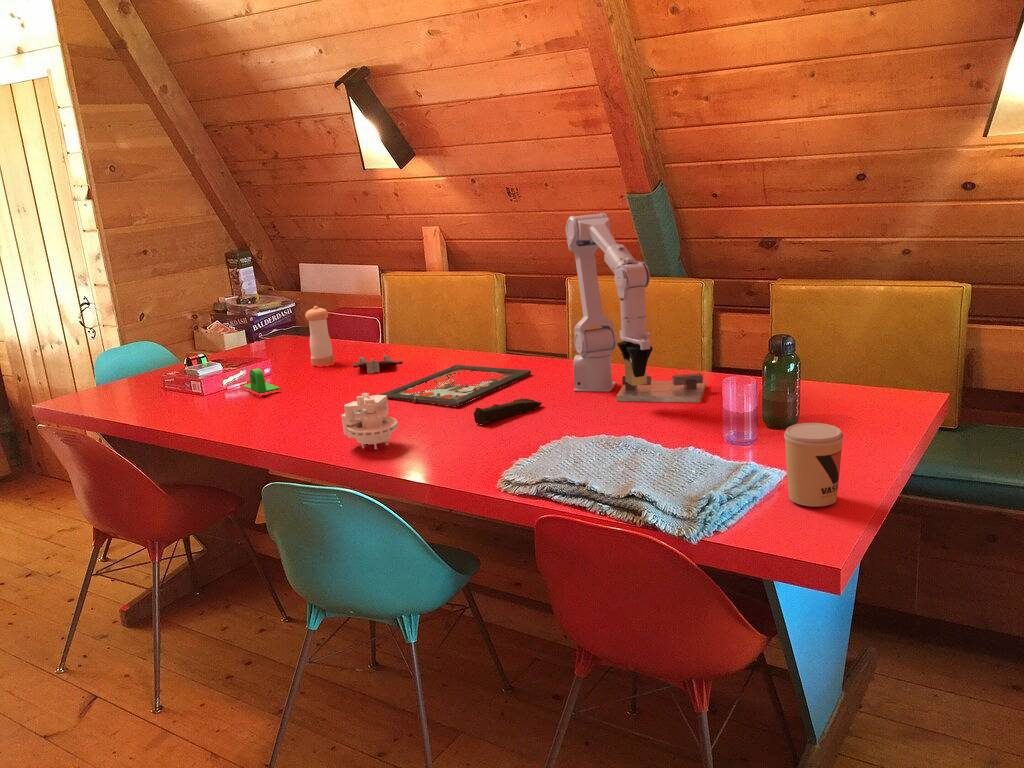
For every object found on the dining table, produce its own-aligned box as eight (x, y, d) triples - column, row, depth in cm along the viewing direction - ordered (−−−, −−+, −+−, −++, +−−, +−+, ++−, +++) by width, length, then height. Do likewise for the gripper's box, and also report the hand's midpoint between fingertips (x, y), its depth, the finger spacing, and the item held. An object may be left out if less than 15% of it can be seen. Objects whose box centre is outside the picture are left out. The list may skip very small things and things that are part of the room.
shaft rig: (616, 401, 215) (615, 383, 214) (626, 386, 228) (625, 369, 227) (700, 402, 209) (699, 383, 208) (705, 386, 222) (705, 369, 221)
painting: (534, 377, 247) (534, 368, 246) (460, 412, 219) (459, 402, 218) (454, 370, 262) (453, 362, 261) (375, 402, 234) (374, 393, 233)
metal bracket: (397, 353, 260) (346, 357, 260) (398, 373, 260) (347, 377, 260) (402, 356, 274) (354, 360, 274) (404, 375, 274) (355, 378, 274)
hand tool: (483, 410, 202) (470, 406, 205) (484, 427, 203) (471, 423, 207) (543, 392, 214) (530, 389, 217) (543, 408, 215) (530, 404, 218)
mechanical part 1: (280, 394, 248) (276, 366, 246) (260, 399, 244) (256, 371, 242) (263, 387, 257) (259, 361, 255) (243, 392, 254) (239, 365, 252)
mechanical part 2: (372, 458, 188) (365, 404, 185) (336, 449, 196) (329, 397, 193) (411, 443, 196) (405, 391, 193) (375, 435, 204) (369, 385, 201)
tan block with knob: (632, 385, 204) (631, 357, 202) (625, 381, 208) (624, 353, 206) (646, 383, 205) (645, 355, 203) (639, 379, 209) (638, 352, 207)
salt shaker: (313, 365, 280) (305, 305, 275) (336, 363, 281) (328, 303, 276) (310, 370, 273) (302, 309, 268) (334, 368, 274) (326, 307, 269)
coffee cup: (828, 513, 144) (829, 443, 141) (774, 501, 150) (774, 434, 147) (850, 494, 151) (852, 427, 148) (798, 483, 157) (798, 419, 154)
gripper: (662, 319, 196) (663, 378, 200) (638, 309, 210) (640, 365, 213) (632, 323, 195) (634, 382, 198) (610, 312, 209) (612, 368, 212)
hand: (635, 374), depth 206 cm, fingers closed on tan block with knob, 4 cm apart
